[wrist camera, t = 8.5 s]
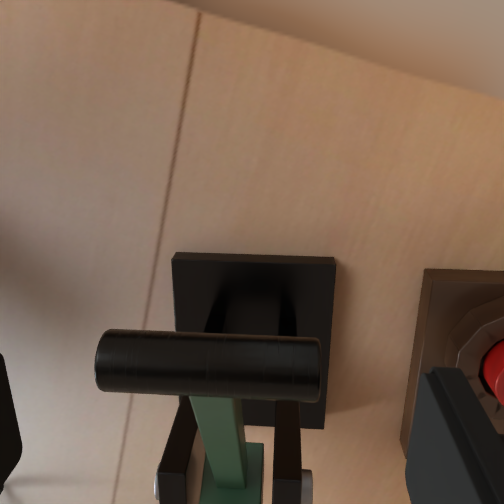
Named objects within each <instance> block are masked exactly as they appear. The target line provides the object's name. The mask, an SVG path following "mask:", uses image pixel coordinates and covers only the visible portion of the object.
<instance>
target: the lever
mask: <svg viewBox="0 0 504 504" xmlns="http://www.w3.org/2000/svg"><path fill="white" fill-rule="evenodd" d="M94 369H95V380H96V384H97V386H98V388H99V389H100V390H102V391H104V392H119V393H138V394H158V395H177V396H189V398H190V401H191V404H192V408H193V411H194V414H195V418H196V421H197V424H198V427H199V431H200V434H201V437H202V440H203V444H204V447H205V450H206V452H205V460H204V468H203V476H202V484H201V492H200V500H199V504H263V482H264V444H263V443H251V442H246V440H245V431H244V422H243V413H242V404H241V399H255V400H275V401H294V402H314V403H315V402H317V401H318V400H319V397H320V390H321V345H320V342H319V339H317V338H314V337H291V336H267V335H244V334H221V333H197V332H174V331H150V330H127V329H109V330H107V331H105V332H104V333H103V335H102V337H101V339H100V341H99V344H98V347H97V351H96V356H95V367H94Z"/></svg>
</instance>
